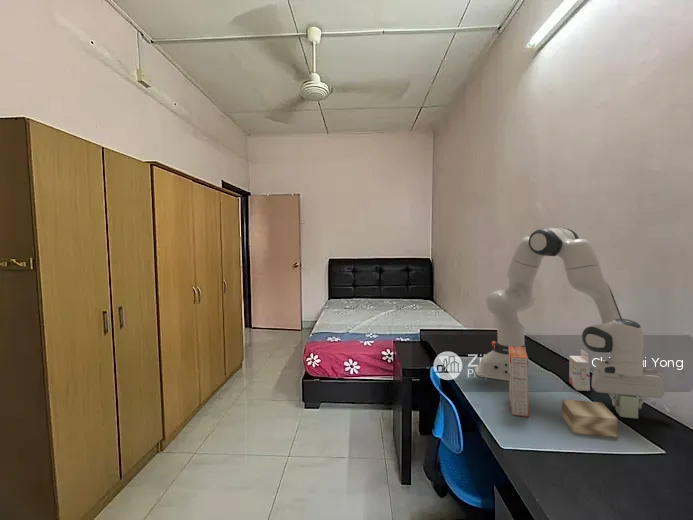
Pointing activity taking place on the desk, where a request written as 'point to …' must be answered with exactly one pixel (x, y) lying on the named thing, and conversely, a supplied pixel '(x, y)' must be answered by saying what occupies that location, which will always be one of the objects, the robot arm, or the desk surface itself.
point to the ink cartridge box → (579, 372)
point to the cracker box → (518, 381)
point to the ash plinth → (589, 418)
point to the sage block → (627, 406)
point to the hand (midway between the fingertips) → (626, 406)
